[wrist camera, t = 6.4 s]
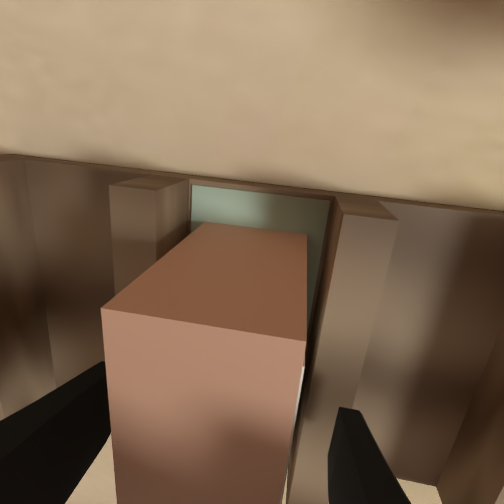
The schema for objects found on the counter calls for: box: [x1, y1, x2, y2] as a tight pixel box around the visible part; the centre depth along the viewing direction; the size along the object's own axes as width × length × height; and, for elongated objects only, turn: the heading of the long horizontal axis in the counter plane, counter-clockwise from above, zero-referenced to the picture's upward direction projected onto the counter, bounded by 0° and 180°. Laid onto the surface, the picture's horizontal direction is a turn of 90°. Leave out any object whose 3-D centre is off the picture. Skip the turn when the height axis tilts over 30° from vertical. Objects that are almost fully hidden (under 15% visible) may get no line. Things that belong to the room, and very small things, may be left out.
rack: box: [0, 154, 504, 504], centre depth 14 cm, size 13×22×4 cm, turn 85°
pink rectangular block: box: [101, 222, 307, 504], centre depth 11 cm, size 4×10×7 cm, turn 175°
